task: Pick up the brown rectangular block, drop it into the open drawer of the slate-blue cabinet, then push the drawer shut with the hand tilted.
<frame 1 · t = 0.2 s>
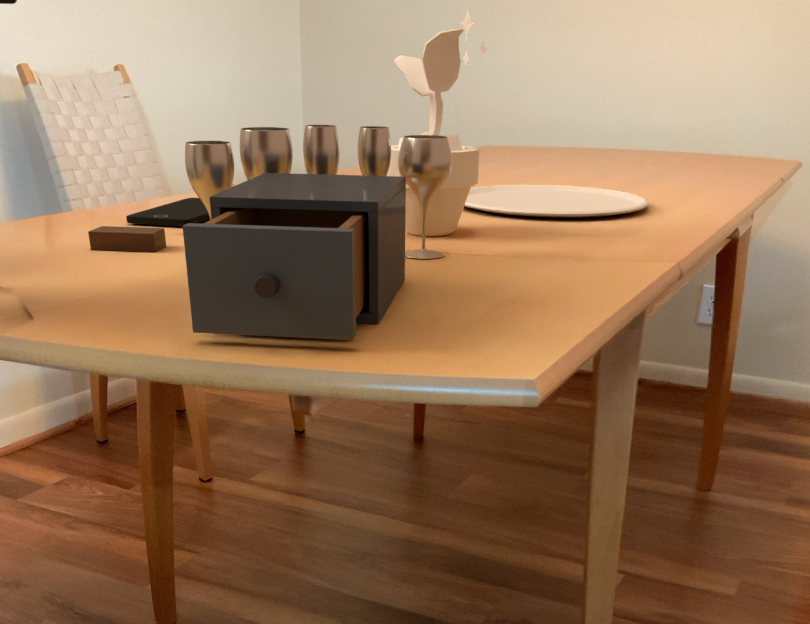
goblet set: (327, 263, 98), on the table
cabinet: (319, 297, 84), on the table
plate: (547, 207, 136), on the table
potted plant: (427, 233, 115), on the table
cell phone: (189, 216, 124), on the table
brown rectangular block: (128, 248, 103), on the table
decorative ornament: (249, 234, 113), on the table
drawer: (292, 264, 73), point 5 cm above the table, slide at 7.0 cm
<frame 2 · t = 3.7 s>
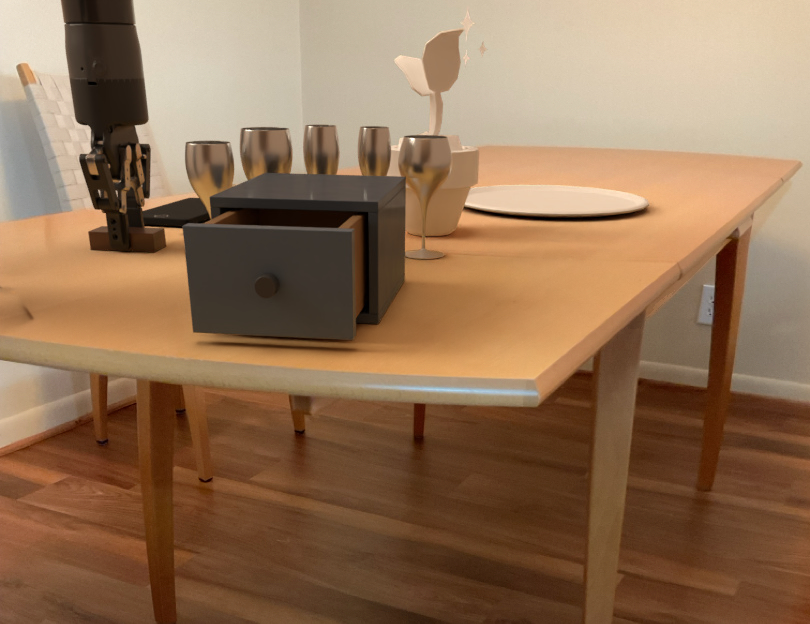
hand: (128, 244, 103), 0 cm above the table, tool pointing down, fingers closed on brown rectangular block, 3 cm apart
brown rectangular block: (128, 248, 103), on the table, touching gripper
everything else where it was.
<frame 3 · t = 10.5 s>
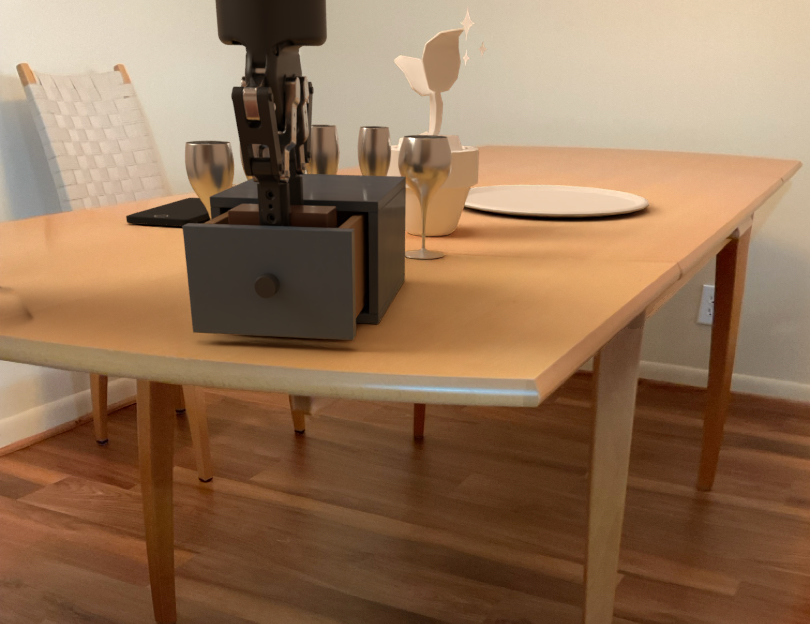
hand: (282, 230, 70), 8 cm above the table, tool pointing down, fingers closed on brown rectangular block, 3 cm apart
brown rectangular block: (284, 235, 70), point 7 cm above the table, touching gripper
everything else where it was.
when the fingers open (10 cm above the table, at t = 18.7 s): brown rectangular block drops 7 cm, resting on drawer.
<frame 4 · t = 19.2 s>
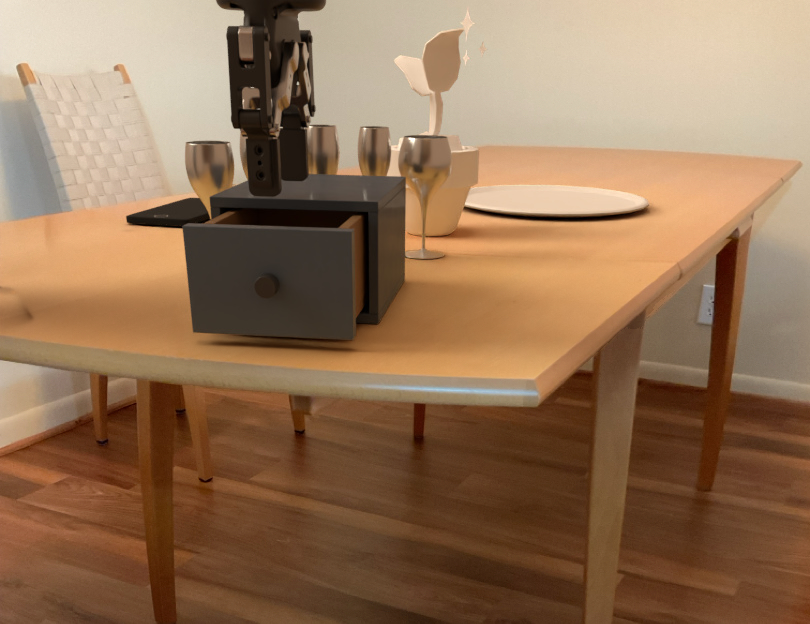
hand: (280, 187, 68), 11 cm above the table, tool pointing down, fingers open, 8 cm apart
brown rectangular block: (287, 307, 72), point 2 cm above the table, touching drawer
drawer: (292, 264, 73), point 5 cm above the table, slide at 7.0 cm, touching brown rectangular block
everything else where it was.
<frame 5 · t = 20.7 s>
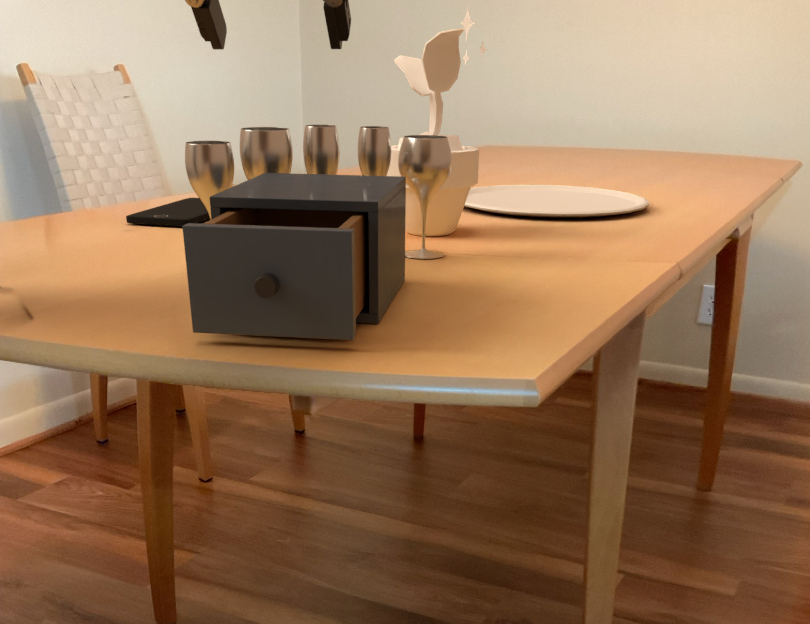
hand: (278, 40, 65), 21 cm above the table, tool tilted 45°, fingers open, 8 cm apart
nothing on the table moved.
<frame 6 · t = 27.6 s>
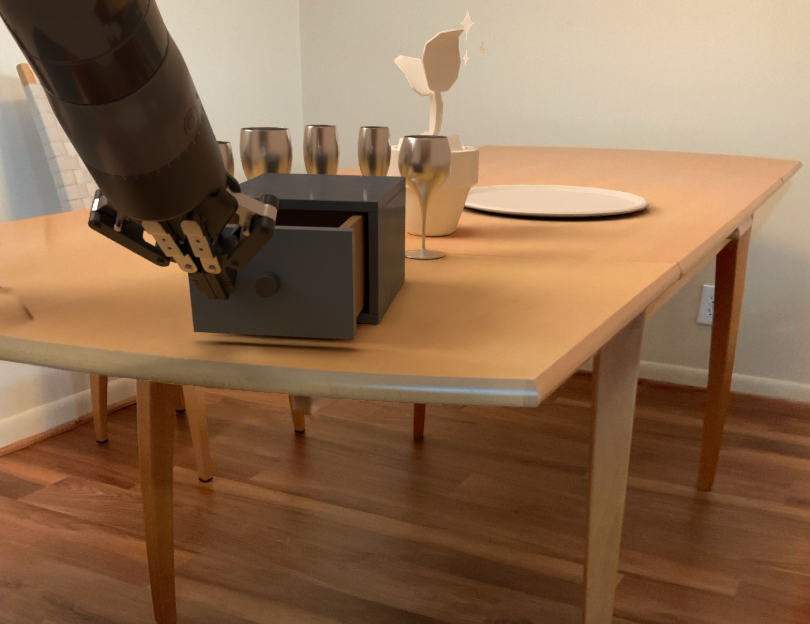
hand: (220, 288, 67), 4 cm above the table, tool tilted 45°, fingers closed
drawer: (293, 263, 73), point 5 cm above the table, slide at 6.8 cm, touching brown rectangular block, gripper
everything else where it was.
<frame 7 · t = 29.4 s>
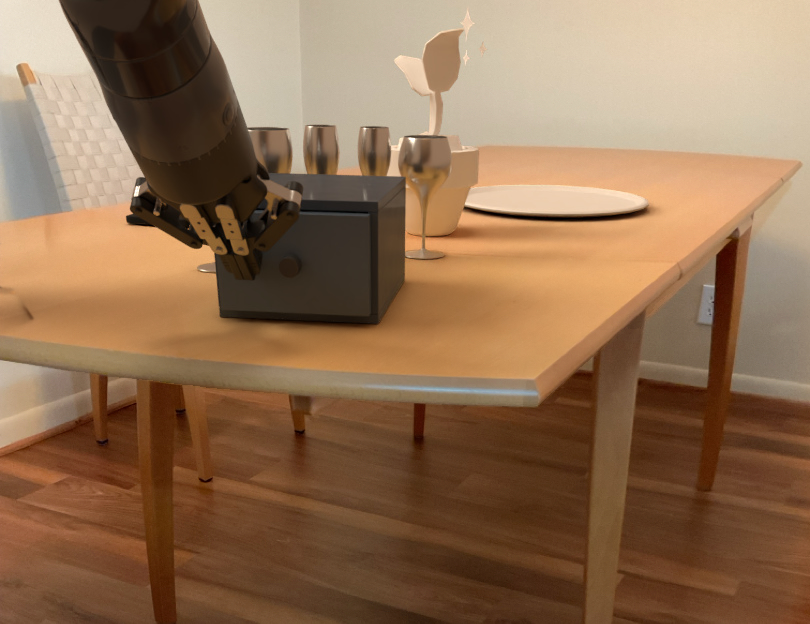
hand: (247, 270, 73), 4 cm above the table, tool tilted 45°, fingers closed
brown rectangular block: (307, 287, 78), point 2 cm above the table, touching drawer
drawer: (311, 248, 79), point 5 cm above the table, slide at 0.0 cm, touching cabinet, brown rectangular block, gripper
everything else where it was.
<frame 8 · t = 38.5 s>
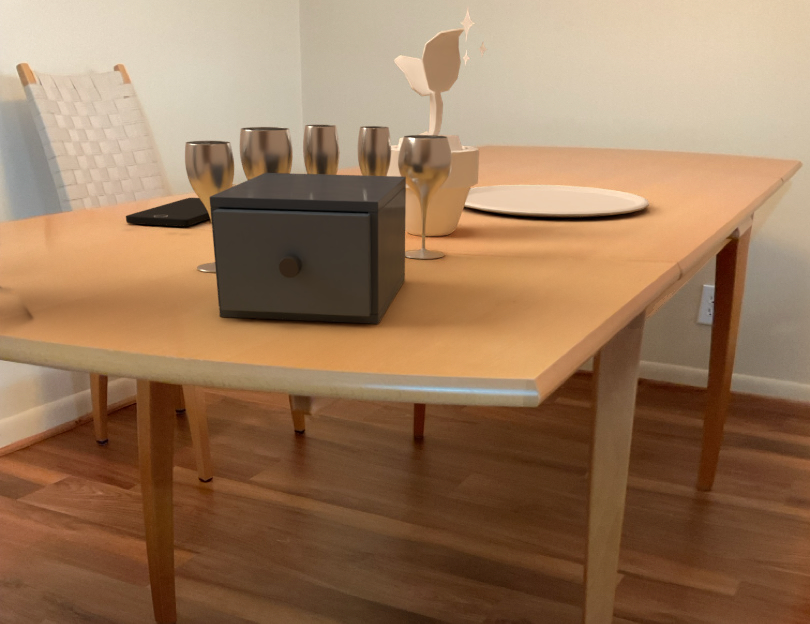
drawer: (311, 248, 79), point 5 cm above the table, slide at 0.0 cm, touching brown rectangular block
everything else where it was.
at the end: brown rectangular block inside the target area in the cabinet (3.9 cm from its centre), point 2.0 cm above the cabinet's base; drawer slide at 0.0 cm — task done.
